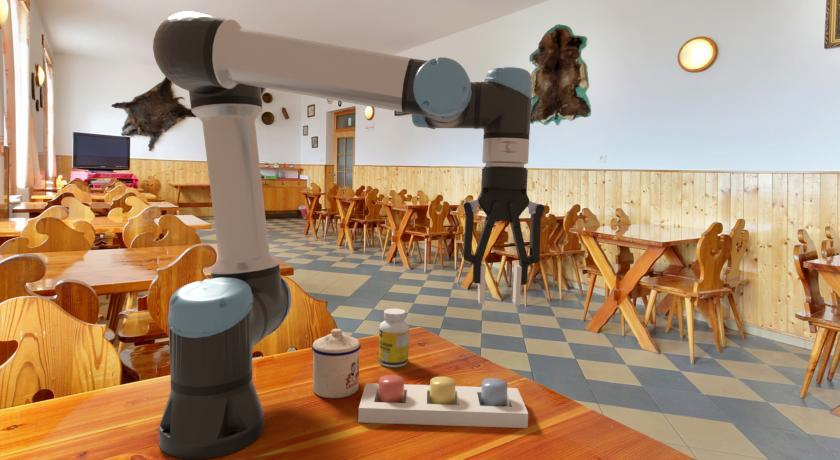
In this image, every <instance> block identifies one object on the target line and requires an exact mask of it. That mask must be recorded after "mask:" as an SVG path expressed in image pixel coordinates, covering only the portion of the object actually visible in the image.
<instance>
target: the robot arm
mask: <svg viewBox="0 0 840 460" xmlns="http://www.w3.org/2000/svg"><path fill="white" fill-rule="evenodd" d="M152 43H153V44H152V50H153V56H154V59H155V61H156V65H157V67H158V68H159V70H160V71H161V73H162V75H164V77H166V78H167V79H168V80H169V81H170V82H171V83H173V85H175V86H177V87H178V88H180V89H183V90H185V91H188V94H189V95H188V96H189V103H190V109H191V110H190V111H191V113H192V114H193V115H194V116H195V117H196V118H198V119H199V120H200V121H201V123H202V131H203V136H204V138H203V139H204V146H205V155H206V156H205V157H206V163H207V164H206V165H207V170H208V171H207V173H208V179H209V189H210V196H211V197H210V198H211V203H212V204H211V205H212V206H211V207H212V212H213V222H214V230H215V239H216V245H217V254H218V260H217V261H216V263H215V264H214V266H213V267H212V268H211V269H210V276H211V278H206V279H203V280H201V281H200V280H197V281H193V282H190V283H187V284H185V285H183V286H180V287H179V288H178V289H177V290H176V291H175V292H174V293H173V294H172V295H171V296H170V299H169V304H168V305H169V307H168V308H169V309H168V315H167V325H168V339H169V340H168V341H169V364H170V365H169V367H170V369H169V371H170V372H169V373H170V392H169V396H168V398H167V401H166V405H165V408H164V411H163V413H162V417H161V420H160V423H159V426H158V446H159V448H160V450H162V451H163V452H164V453H165V454H166V455H169V456H171V457H174V458H178V459H184V460H202V459H203V460H204V459H212V458H217V457H222V456H226V455H229V454H232V453H234V452H237V451H240V450H243V449H245V448H246V447H248V446H250V445H251V444H254V442H255V441H256V440H258V438H260V436H261V435H262V434H263V432H264V430H265V412H264V409H263V406H262V403H261V401H260V398H259V395H258V393H257V392H258V391H257V389H256V387H255V385H254V381H253V348H254V347H255V346H256V345H257V344H258V343H259V342H261V341H262V340H263V339H265V338H266V337H267V336H269V335H271V334H272V333H274V332H276V331H277V330H278V329H279V327H280V326H281V325H282V324H283V323H284V322H285V320H286V318H287V317H288V315H289V313H290V311H291V308H292V307H291V306H292V292H291V289H290V286H289V284H288V282H287V281H286V280H285V278H283V277H282V276H281V268H280V263H279V261H278V259H276V258H275V257H274V256H272V255H271V253H270V247H269V240H268V239H269V238H268V230H267V220H266V218H267V217H266V212H265V211H266V210H265V202H264V192H263V184H262V183H263V182H262V175H261V173H262V172H261V166H260V165H261V164H260V157H259V156H260V155H259V147H258V139H257V136H258V135H257V130H256V129H257V128H256V119H257V118H258V117H259V116H260V114H261V113H262V112H263V110H264V109H263V100H262V96H263V94H264V92H266V89H269V90H274V91H279V92H287V93H291V94H296V95H297V94H298V95H302V96H309V97H315V98H320V99H326V100H331V101H337V102H343V103H349V104H355V105H361V106H366V107H371V108H376V109H383V110H387V111H388V110H390V111H394V112H401V113H405V114H409V115H411V121H412V124H413V125H414V126H415V127H417V128H424V129H425V128H426V129H431V130H436V129H475V130H478V129H481V130H483V144H482V159H481V160H482V163H483V164H485V165H484V166H483V168H481V185H480V186H481V187H480V188H481V189H480V194H479V195H478V197H477V199H474V200H470V201H463V203H462V207H463V208H462V209H463V211H464V214H465V216H464V217H465V218H464V219H465V220H464V230H463V231H464V233H463V236H464V237H463V246H462V258H463V260H464V261H466V262H468V263H471V264H472V281H473V283H474V284H478V289H477V292H478V293H477V301H478V304H479V305H484V304H485V290H486V289H485V287H486V269H487V268H486V266H487V265H486V264H485V263H483V259H484V256H485V254H486V250H487V248H488V247H487V246H488V244H489V240H490V238H491V235H492V230H493V228H494V226H495V224H496V223H497V222H498V223H499V222H507V223H509V225H510V228H511V234H512V236H513V237H512V238H513V242H514V245H515V250H516V254H517V255H516V256H517V259H518V263H517V264H513V265H514V267H513V281H512V282H513V285H512V303H513V304H514V306H520V305H521V285H522V286H526V285H527V283H528V270H529V269H528V268H529V267H530V265H533V264H538V263H539V262H540V260H541V259H540V257H541V255H540V254H541V253H540V252H541V220H542V216H543V213H544V211H545V208H546V207H545V205H544V204H542V203H536V202H533V201H530V198H529V196H528V193H527V191H528V177H529V176H528V172H529V170H528V169H527V167H525V165H527V164H528V163H529V156H530V155H529V153H530V152H529V150H530V147H529V146H530V132H531V115H532V103H533V102H532V101H533V97H532V75H531V73H530V72H529V71H528V70H527V69H524V68H522V67H513V66H512V67H511V66H507V67H506V66H505V67H496V68H492V69H489V70H488V71H487V72H486V73H485V78H484V81H479V82H478V81H476V82H475V81H473V82H472V81H471V80H470V77H469V75H468V73H467V71H466V69H465V68H464V66H463V65H462V64H460V63H459V62H457V61H456V60H454V58H453V59H452V58H449V57H445V56H444V57H441V56H440V57H435V58H431V59H430V60H425V59H419V58H417V59H416V58H412V57H406V56H400V55H396V54H394V55H393V54H389V53H384V52H383V53H382V52H378V51H371V50H366V49H360V48H354V47H349V46H343V45H338V44H331V43H326V42H325V43H324V42H321V41H315V40H314V41H313V40H308V39H302V38H298V37H291V36H287V35H285V36H284V35H280V34H274V33H269V32H268V33H267V32H262V31H256V30H252V29H251V30H250V29H245V28H242V26H241V24H240V23H239V22H238V21H237V20H235V19H232V18H227V17H221V16H215V15H212V14H211V15H210V14H208V13H207V14H205V13H203V12H195V11H180V12H177V13H174V14H172V15H171V16H168V17H167V18H165V19H164V20H163V21H162V22H161V23H160V25H159V26H158V28H157V29H156V31H155V33H154V37H153V42H152ZM479 206H480V208H481V209H482V211H483V213H484V214H485V216H486V217H485V219H484V224H483V227H482V230H481V233H480V235H479V239H478V243H477V246H476V249H475V251H474V254H472V252H473V251H472V249H473V247H472V246H473V237H474V236H473V235H474V220H475V219H474V214H476V213H477V211H478V207H479ZM527 208H528V214H529V215H530V218H529V219H530V220H529V223H530V226H529V227H530V228H529V255H528V254H527V248H526V245H525V240H524V236H523V235H524V234H523V232H522V226H521V225H522V224H521V221H520V216H521V215H522V214H523V212H524V211H525V210H526V209H527Z"/></svg>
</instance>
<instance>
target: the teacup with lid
mask: <svg viewBox="0 0 840 460" xmlns="http://www.w3.org/2000/svg"><path fill="white" fill-rule="evenodd" d="M360 349H361V343H360V341H359V339H357V338H356V337H354V336H353V337H352V336H351V335H347V334H345V333H343V330H342V329H341V328H332V329H331V332H330V333H329V334H327V335H325V336H322V337H319V338H317V339H315V340H314V342H313V343H312V345H311V350H312V390H313V392H314V394H316V395H317V396H319V397H322V398H326V399H340V398H341V399H342V398H346V397H349V396H352V395H353V394H355V393H356V392H357V391H358V389H359V388H360V387H359V384H360V383H359V382H360V381H359V380H360V375H359V374H360Z"/></svg>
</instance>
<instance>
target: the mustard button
mask: <svg viewBox="0 0 840 460" xmlns="http://www.w3.org/2000/svg"><path fill="white" fill-rule="evenodd" d="M429 382H430V383H429V385H430V403H431V404H444V405H454V403H455V386H457V384H456V383H457V382H456V380H455V379H454V378H451V377H449V376H434V377H433V378H431V379H430V381H429Z"/></svg>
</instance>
